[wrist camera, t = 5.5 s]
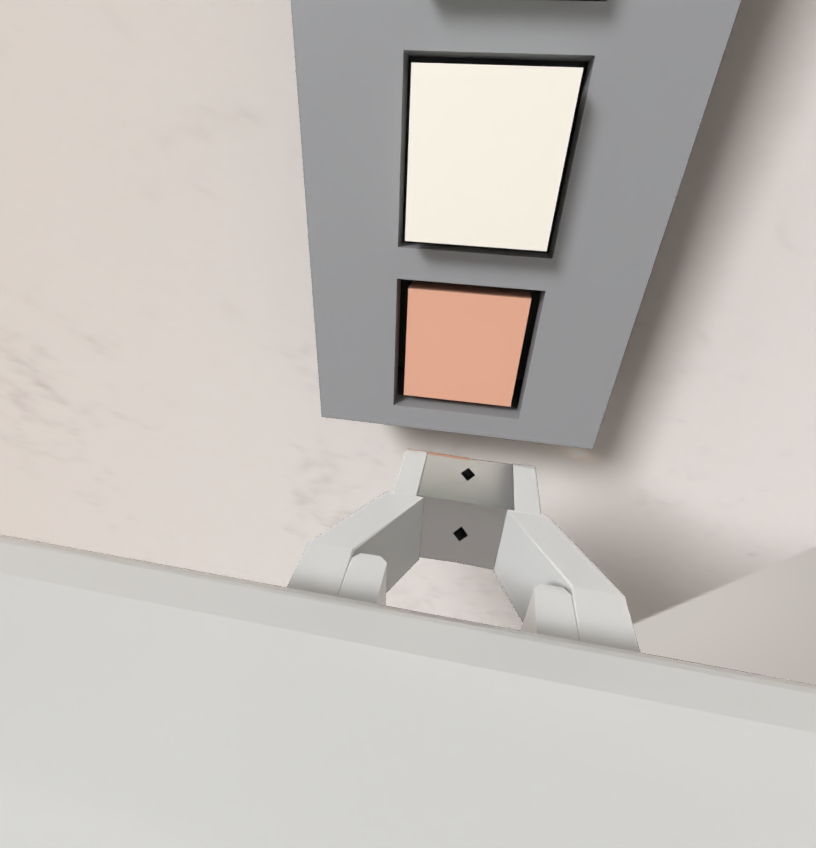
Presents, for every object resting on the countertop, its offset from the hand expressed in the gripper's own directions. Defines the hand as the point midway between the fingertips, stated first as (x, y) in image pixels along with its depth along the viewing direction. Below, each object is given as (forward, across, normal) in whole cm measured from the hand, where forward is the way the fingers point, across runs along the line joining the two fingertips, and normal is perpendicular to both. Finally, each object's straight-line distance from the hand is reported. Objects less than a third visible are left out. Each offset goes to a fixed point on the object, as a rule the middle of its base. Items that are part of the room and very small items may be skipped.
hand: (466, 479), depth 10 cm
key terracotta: (+10, +1, 0) cm, 10 cm away
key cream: (+9, +1, -6) cm, 11 cm away
